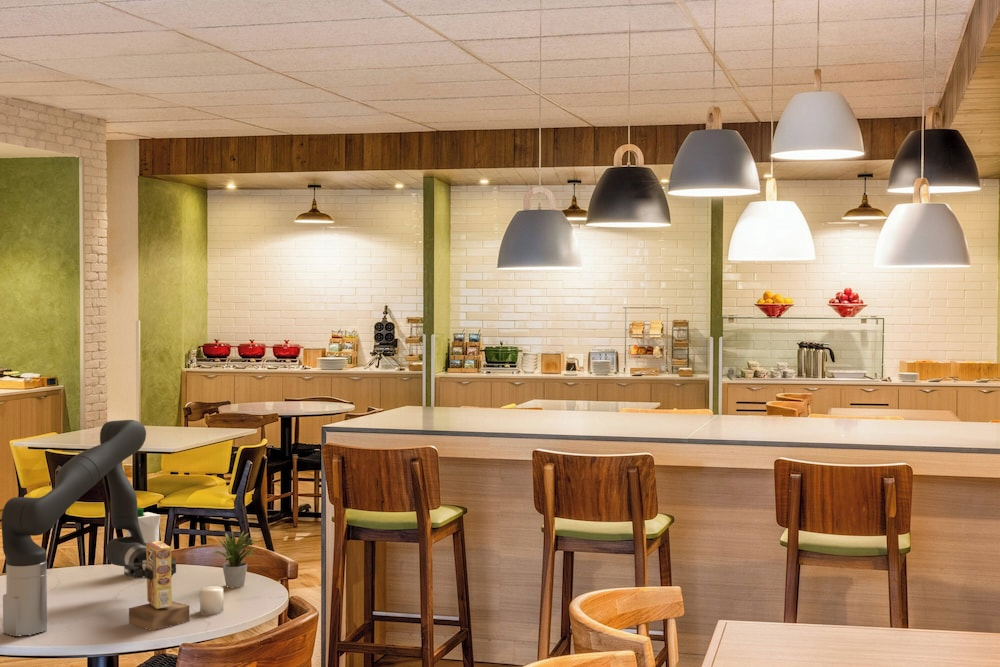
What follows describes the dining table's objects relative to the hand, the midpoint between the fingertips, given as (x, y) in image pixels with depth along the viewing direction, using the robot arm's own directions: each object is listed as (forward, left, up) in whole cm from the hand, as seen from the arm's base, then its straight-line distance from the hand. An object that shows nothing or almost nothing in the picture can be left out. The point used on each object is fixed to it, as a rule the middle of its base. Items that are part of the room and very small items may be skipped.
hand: (161, 574), depth 287 cm
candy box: (+1, +2, -8) cm, 8 cm away
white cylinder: (+16, 0, -13) cm, 20 cm away
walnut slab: (+1, +2, -13) cm, 13 cm away
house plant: (+37, +16, -13) cm, 42 cm away
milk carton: (+31, +51, -13) cm, 61 cm away
